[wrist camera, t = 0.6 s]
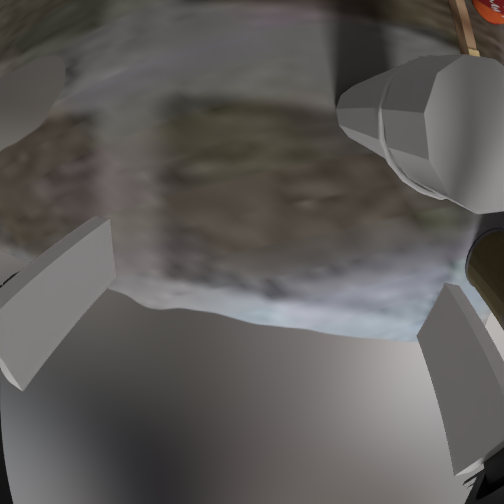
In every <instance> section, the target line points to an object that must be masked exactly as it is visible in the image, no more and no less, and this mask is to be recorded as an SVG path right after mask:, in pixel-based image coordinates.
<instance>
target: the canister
mask: <svg viewBox="0 0 504 504" xmlns="http://www.w3.org/2000/svg"><path fill="white" fill-rule="evenodd" d="M465 272H466V277H467V279H468V281H469V283H470V284H471V285H472V286H474V287H475V288H476V290H477V291H478V292H479V294H480V295H481V297H482V298H483V300H484V301H485V302H486V304H487V305H488V307H489V308H490V310H491V311H492V313H493V314H494V316H495V317H496V319H497V320H498V322H499V324H500V325H501V327H502V328H503V330H504V230H502V229H493V230H490V231H487V232H486V233H484V234H483V235H481V236H480V237H479V238H478V240H477V241H476V242H475V243H474V245H473V246H472V248H471V250H470V252H469V254H468V257H467V261H466V266H465Z"/></svg>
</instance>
